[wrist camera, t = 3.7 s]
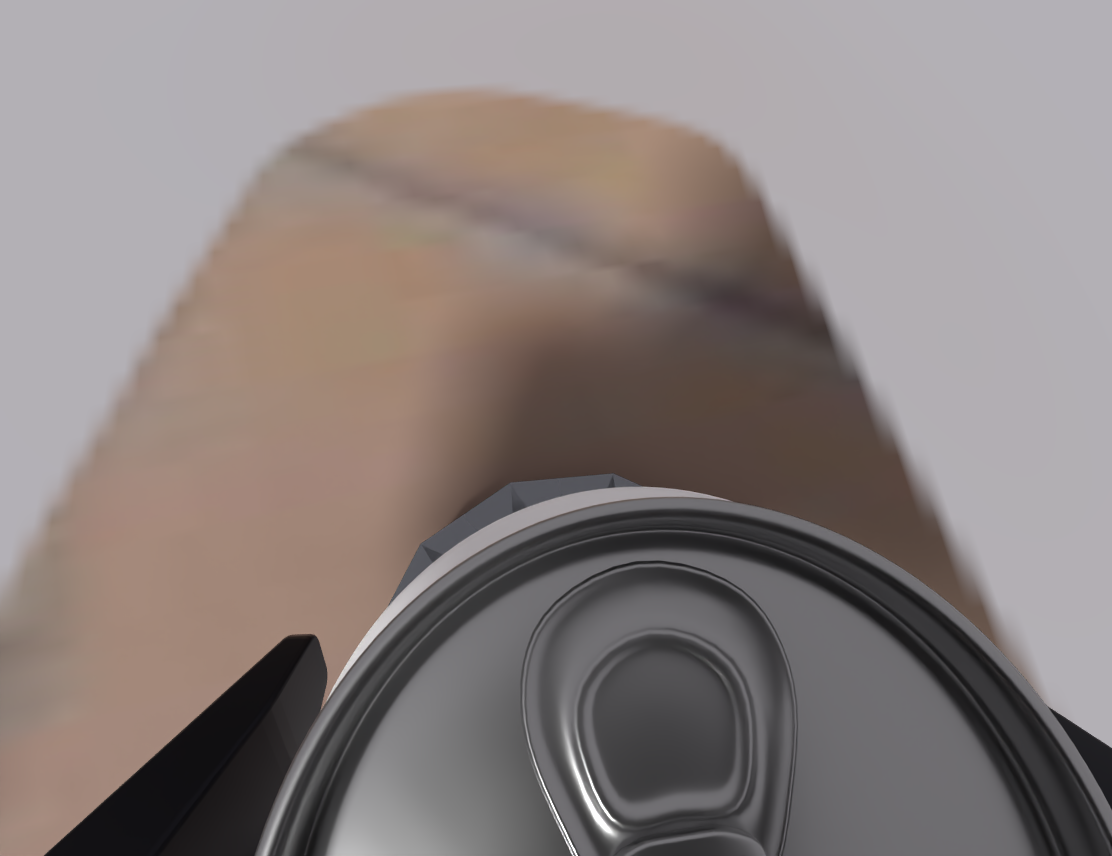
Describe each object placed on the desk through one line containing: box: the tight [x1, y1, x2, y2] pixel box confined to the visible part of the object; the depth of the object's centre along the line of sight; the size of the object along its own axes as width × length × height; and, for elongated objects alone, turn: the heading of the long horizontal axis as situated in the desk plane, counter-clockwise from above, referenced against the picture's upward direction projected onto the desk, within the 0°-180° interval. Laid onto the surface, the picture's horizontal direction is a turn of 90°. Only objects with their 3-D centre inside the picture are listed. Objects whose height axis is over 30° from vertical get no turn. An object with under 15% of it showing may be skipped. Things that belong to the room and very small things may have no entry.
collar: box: [388, 473, 643, 606], centre depth 14 cm, size 10×10×2 cm
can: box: [255, 487, 1112, 856], centre depth 9 cm, size 6×6×12 cm
